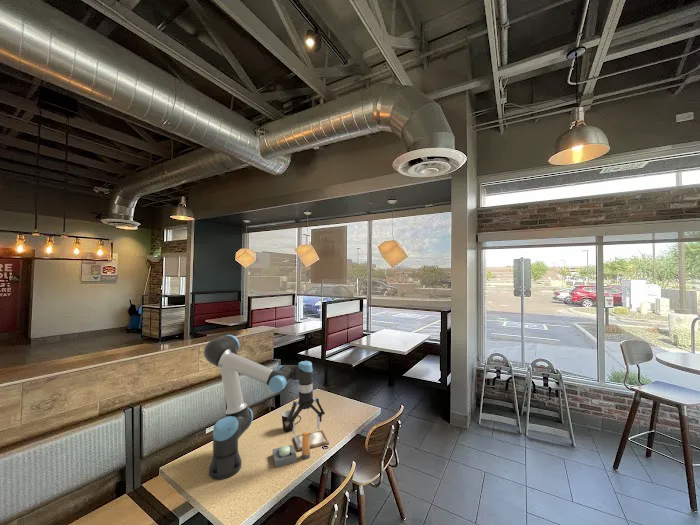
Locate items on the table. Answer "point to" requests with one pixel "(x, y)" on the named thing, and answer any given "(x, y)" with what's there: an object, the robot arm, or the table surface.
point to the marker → (305, 445)
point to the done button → (284, 451)
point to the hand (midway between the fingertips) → (306, 430)
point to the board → (312, 440)
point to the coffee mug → (285, 423)
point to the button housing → (284, 460)
